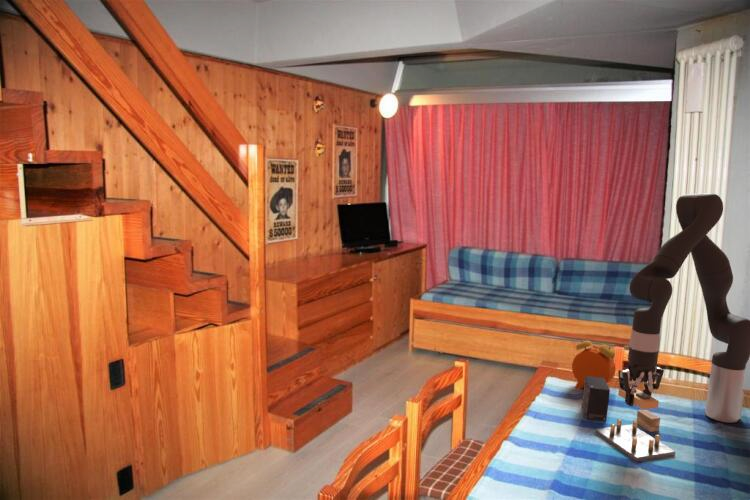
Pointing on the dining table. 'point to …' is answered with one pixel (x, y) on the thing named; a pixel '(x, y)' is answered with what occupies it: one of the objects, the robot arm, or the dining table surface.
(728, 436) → the dining table surface
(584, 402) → the small box
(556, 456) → the dining table surface
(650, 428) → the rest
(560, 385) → the dining table surface
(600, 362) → the alarm clock
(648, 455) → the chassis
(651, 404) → the board
